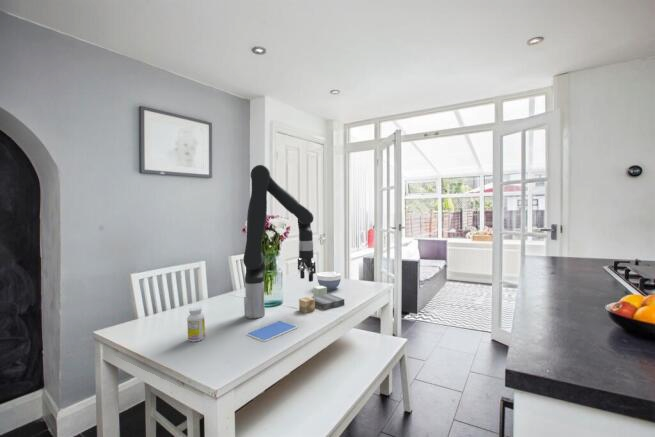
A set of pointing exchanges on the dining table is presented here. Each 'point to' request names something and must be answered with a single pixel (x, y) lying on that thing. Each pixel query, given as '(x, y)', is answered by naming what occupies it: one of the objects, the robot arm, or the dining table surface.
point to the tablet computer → (271, 331)
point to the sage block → (319, 291)
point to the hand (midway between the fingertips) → (306, 279)
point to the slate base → (328, 301)
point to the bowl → (329, 279)
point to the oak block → (307, 304)
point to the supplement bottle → (196, 325)
